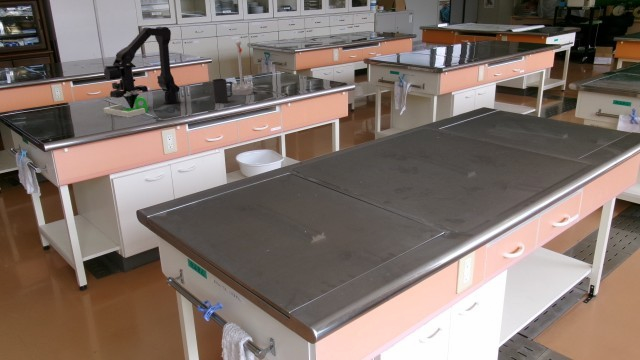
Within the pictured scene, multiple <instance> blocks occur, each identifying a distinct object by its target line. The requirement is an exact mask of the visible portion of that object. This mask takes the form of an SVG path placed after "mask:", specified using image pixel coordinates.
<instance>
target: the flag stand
mask: <svg viewBox="0 0 640 360" xmlns="http://www.w3.org/2000/svg"><path fill="white" fill-rule="evenodd" d="M235 45H236V47H237V57H238V58H237V59H238V72H239V84H237V82H232V95H233V96H249V95H252V93H253V89H254V83H252V82H250V81H249V82H246V83H245V82H244V80H243V79H244V77H243V68H242V52H243V49H242V47H241V45H242V41H241V40H239V39H237V40H236V41H235Z"/></svg>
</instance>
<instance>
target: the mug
mask: <svg viewBox="0 0 640 360" xmlns="http://www.w3.org/2000/svg"><path fill="white" fill-rule="evenodd" d="M232 84H233V82H232V81H227V79H226V78H215V79H212V89H213V99H214V104H217V103H223V104H227V103H229V98H231V97H232V95H233V91H232ZM227 85H229V87H230V94H229V95H228V87H227Z"/></svg>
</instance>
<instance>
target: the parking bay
mask: <svg viewBox="0 0 640 360" xmlns="http://www.w3.org/2000/svg"><path fill="white" fill-rule="evenodd" d="M123 109H124V107H123V104H122V103H121V104H116V105H111V106H107V107H103V113H104V114H107V115H112V116H119V117H123V118H132V117H136V116H140V115H143V114H146V113H145V108H141V109H137V110H133V111H129V112H127V111H122V110H123Z"/></svg>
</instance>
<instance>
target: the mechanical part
mask: <svg viewBox="0 0 640 360" xmlns="http://www.w3.org/2000/svg"><path fill="white" fill-rule="evenodd" d="M139 102H143V104H141V105H140V104H139ZM134 106H135V107H133V108H130V107H129V108H123V109H122V110H121V111H127V112H129V111H133V110H137V109H141V108H145V113H144V114H147V113H149V111H148V110H149V109H148V103H147V100H146V99H145V97H142V96H139V97H138V96H137V98H136V100H135V104H134Z"/></svg>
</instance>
